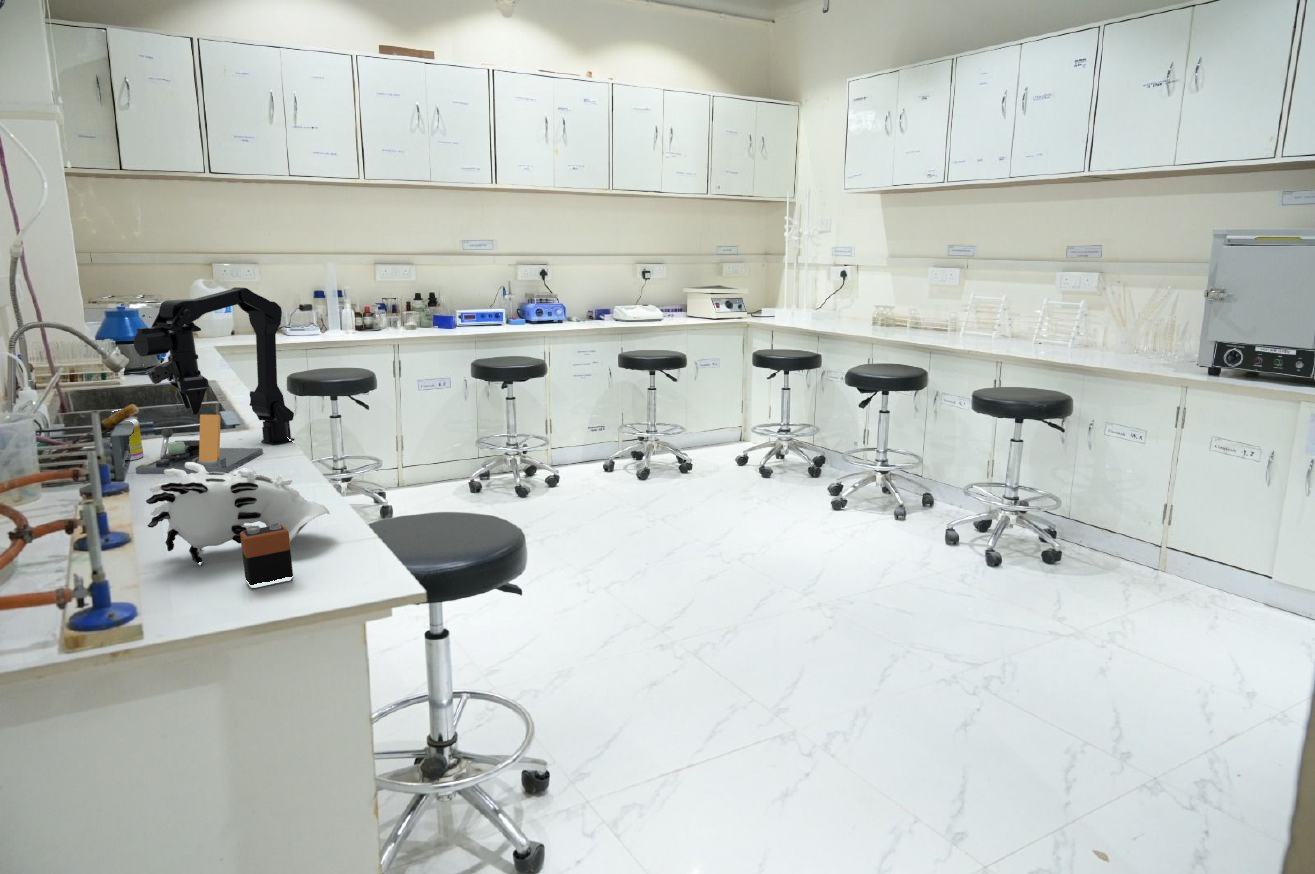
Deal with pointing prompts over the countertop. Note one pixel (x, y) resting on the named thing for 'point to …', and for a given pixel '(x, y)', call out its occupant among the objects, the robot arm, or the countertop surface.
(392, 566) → the countertop surface
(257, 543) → the battery
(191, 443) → the labelled grey box
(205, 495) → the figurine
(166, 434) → the toggle
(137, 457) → the yellow bottle
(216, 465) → the paddle
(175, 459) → the panel
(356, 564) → the countertop surface
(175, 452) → the button
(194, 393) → the robot arm
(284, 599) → the countertop surface
